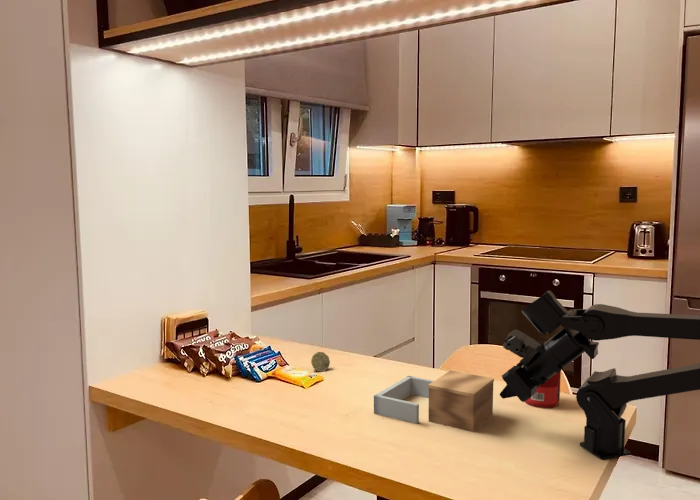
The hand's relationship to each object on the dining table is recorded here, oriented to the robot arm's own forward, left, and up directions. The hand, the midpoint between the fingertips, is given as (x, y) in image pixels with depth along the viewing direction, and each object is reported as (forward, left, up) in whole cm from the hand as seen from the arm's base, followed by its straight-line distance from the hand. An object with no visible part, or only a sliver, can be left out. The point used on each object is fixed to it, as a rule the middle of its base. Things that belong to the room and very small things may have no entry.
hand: (501, 396), depth 124 cm
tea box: (+6, -7, -7) cm, 11 cm away
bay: (+13, -16, -7) cm, 22 cm away
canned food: (-16, -10, -7) cm, 20 cm away
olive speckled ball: (+27, -48, -7) cm, 55 cm away
